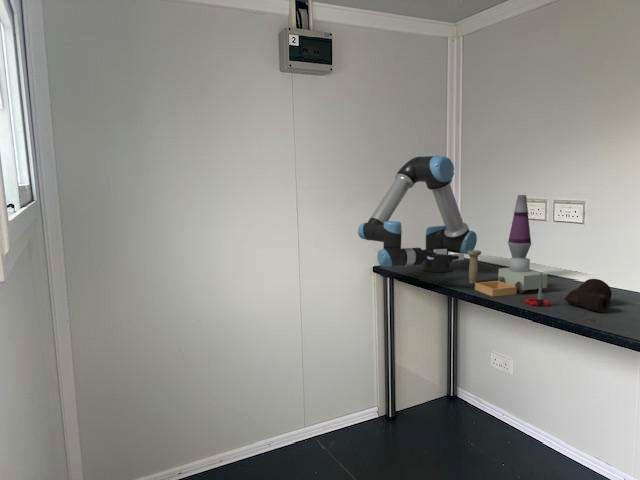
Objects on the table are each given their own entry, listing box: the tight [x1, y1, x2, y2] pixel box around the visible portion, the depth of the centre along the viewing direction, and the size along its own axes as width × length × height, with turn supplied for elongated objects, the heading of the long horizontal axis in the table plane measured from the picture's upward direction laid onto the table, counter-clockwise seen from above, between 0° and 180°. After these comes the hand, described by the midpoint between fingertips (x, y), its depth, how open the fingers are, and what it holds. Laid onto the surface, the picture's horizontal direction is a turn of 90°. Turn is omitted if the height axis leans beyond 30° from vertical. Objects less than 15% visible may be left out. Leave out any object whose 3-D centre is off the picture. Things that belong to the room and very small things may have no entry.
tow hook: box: [524, 272, 550, 307], centre depth 181 cm, size 8×13×9 cm
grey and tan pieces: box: [474, 257, 549, 297], centre depth 200 cm, size 16×26×13 cm, turn 107°
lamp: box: [507, 194, 532, 258], centre depth 217 cm, size 11×11×40 cm
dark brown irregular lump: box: [564, 278, 612, 313], centre depth 176 cm, size 10×15×15 cm
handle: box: [466, 249, 482, 285], centre depth 213 cm, size 5×6×15 cm
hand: (454, 254), depth 209 cm, fingers open, 13 cm apart
